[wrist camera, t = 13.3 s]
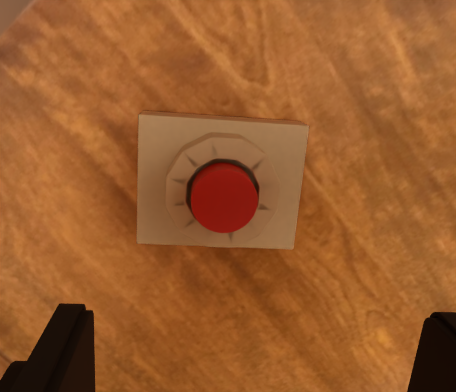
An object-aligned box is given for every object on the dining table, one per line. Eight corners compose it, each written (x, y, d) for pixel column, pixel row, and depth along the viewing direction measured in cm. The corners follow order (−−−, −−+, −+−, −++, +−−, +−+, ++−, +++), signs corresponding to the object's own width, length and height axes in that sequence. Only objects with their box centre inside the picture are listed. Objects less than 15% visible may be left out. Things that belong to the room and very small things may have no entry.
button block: (140, 230, 28) (132, 256, 25) (142, 110, 26) (134, 117, 22) (286, 236, 29) (300, 262, 26) (300, 121, 27) (318, 129, 23)
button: (189, 220, 25) (189, 232, 23) (192, 160, 24) (192, 167, 22) (250, 223, 25) (254, 234, 23) (256, 164, 24) (260, 171, 22)
